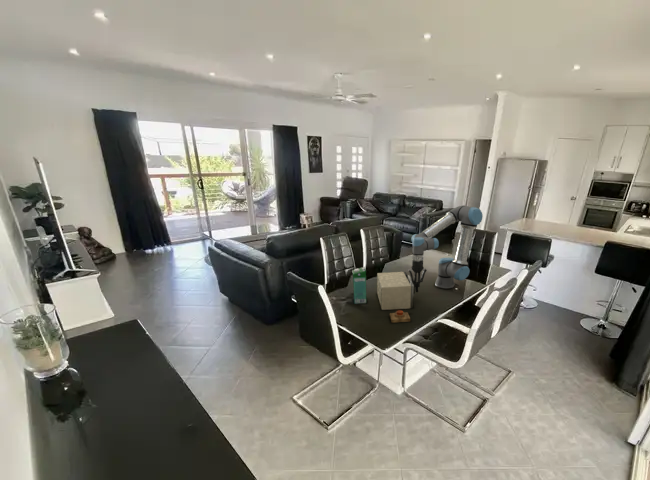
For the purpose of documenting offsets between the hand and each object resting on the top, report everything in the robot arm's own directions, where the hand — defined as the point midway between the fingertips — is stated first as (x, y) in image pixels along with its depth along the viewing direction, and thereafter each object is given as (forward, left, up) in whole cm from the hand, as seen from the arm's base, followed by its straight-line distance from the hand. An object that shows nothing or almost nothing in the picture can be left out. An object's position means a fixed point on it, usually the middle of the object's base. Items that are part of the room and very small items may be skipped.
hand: (416, 291), depth 230 cm
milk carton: (+41, -7, -9) cm, 42 cm away
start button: (+17, +24, -5) cm, 30 cm away
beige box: (+15, -4, -8) cm, 18 cm away
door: (+3, 0, -8) cm, 9 cm away
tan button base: (+17, +24, -8) cm, 30 cm away
